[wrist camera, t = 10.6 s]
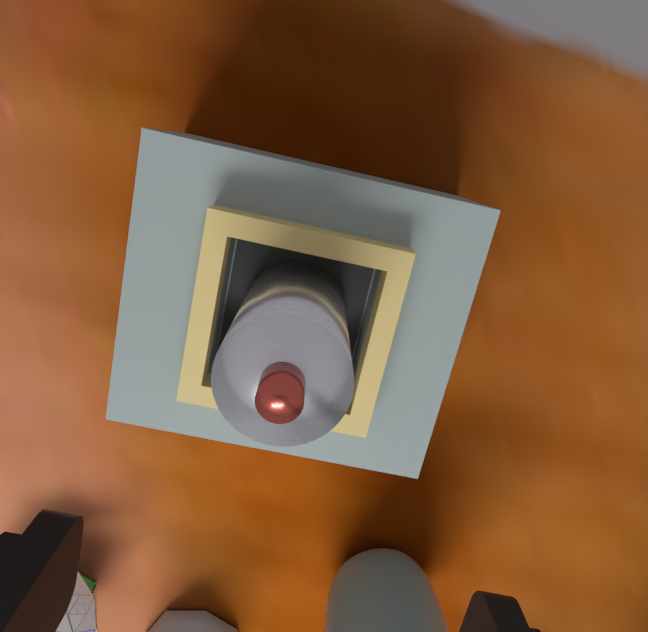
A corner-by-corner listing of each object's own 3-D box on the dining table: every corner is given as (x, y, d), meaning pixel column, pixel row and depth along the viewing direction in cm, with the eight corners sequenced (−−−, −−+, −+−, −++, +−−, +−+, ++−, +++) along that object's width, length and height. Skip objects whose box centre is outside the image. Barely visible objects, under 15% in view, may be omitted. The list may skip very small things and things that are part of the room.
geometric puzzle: (53, 674, 40) (46, 721, 33) (-35, 627, 39) (-62, 666, 31) (117, 576, 43) (123, 600, 36) (37, 530, 42) (28, 545, 34)
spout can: (355, 272, 28) (372, 345, 18) (333, 364, 29) (337, 481, 19) (254, 251, 27) (214, 313, 17) (237, 345, 29) (191, 454, 19)
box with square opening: (457, 195, 33) (511, 214, 24) (396, 409, 37) (423, 496, 28) (184, 132, 32) (130, 126, 22) (151, 360, 35) (94, 434, 26)
